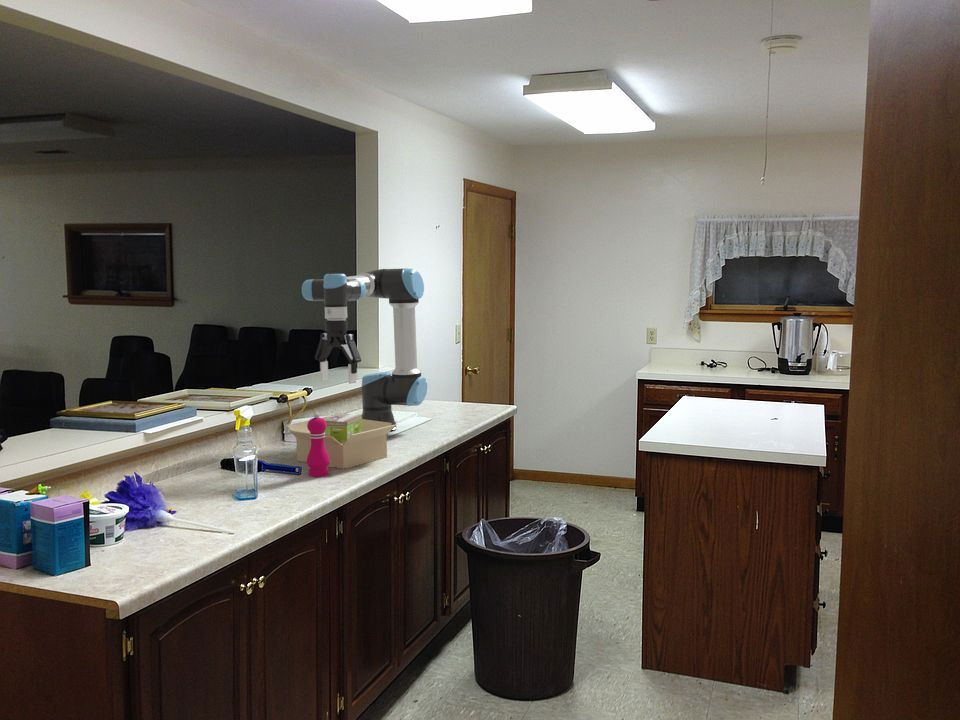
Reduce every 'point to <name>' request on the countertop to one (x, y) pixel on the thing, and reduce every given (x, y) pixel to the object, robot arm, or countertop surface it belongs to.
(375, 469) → the countertop surface
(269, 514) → the countertop surface
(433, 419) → the countertop surface
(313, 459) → the pepper mill
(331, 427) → the tea box
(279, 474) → the countertop surface
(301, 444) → the carton
